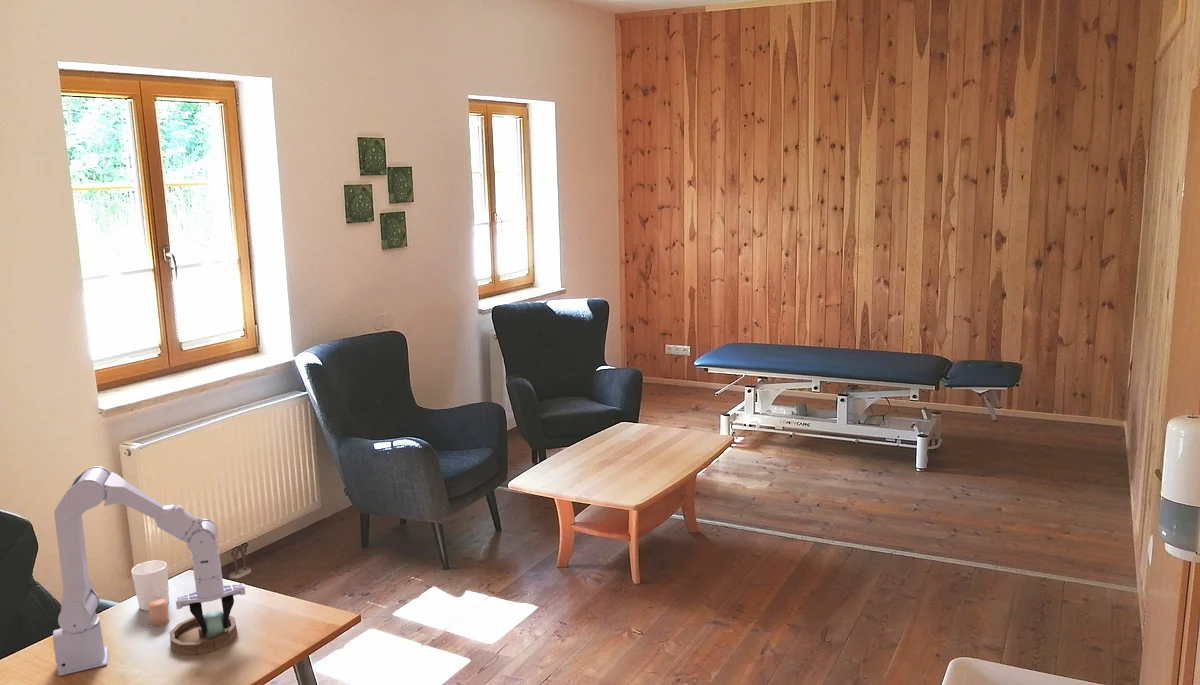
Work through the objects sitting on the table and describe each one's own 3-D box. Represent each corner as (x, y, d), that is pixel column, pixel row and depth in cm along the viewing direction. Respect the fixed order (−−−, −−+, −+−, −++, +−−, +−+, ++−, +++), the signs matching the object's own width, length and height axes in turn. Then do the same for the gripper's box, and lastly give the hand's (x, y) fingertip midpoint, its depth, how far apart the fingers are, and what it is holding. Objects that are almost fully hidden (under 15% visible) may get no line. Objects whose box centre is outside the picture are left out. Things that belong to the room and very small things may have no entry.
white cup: (158, 613, 233) (152, 575, 231) (129, 611, 235) (124, 573, 233) (178, 597, 241) (173, 561, 239) (150, 595, 243) (145, 559, 240)
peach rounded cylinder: (151, 628, 227) (148, 608, 225) (150, 620, 230) (147, 601, 229) (169, 624, 228) (166, 604, 227) (168, 616, 232) (166, 597, 231)
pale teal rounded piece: (207, 641, 217) (205, 620, 216) (205, 633, 220) (202, 613, 219) (226, 636, 219) (223, 616, 218) (223, 628, 222) (221, 608, 221)
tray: (172, 661, 212) (170, 650, 211) (170, 632, 224) (168, 622, 224) (239, 644, 218) (238, 634, 217) (233, 617, 230) (232, 608, 230)
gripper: (240, 560, 223) (246, 613, 226) (172, 574, 217) (180, 629, 220) (243, 572, 216) (250, 627, 219) (173, 587, 210) (181, 643, 213)
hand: (215, 629), depth 219 cm, fingers closed on pale teal rounded piece, 4 cm apart
